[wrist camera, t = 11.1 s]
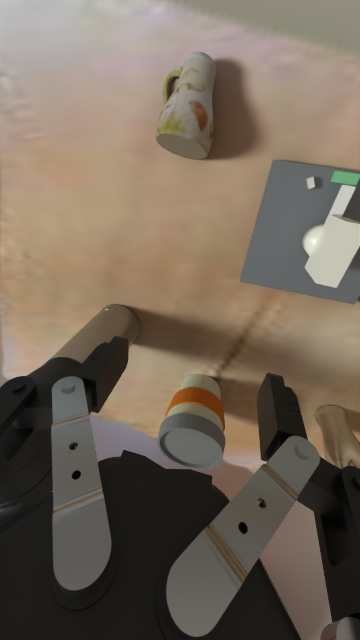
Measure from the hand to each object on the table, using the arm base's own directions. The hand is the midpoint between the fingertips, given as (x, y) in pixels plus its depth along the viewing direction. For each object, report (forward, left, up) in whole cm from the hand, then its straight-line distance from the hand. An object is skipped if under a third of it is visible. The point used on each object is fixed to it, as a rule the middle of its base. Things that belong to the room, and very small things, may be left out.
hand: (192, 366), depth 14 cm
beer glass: (-31, -30, -30) cm, 53 cm away
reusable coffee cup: (-33, -2, -30) cm, 45 cm away
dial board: (+4, -13, -30) cm, 33 cm away
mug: (+16, +8, -30) cm, 35 cm away
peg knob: (+5, -13, -28) cm, 32 cm away
